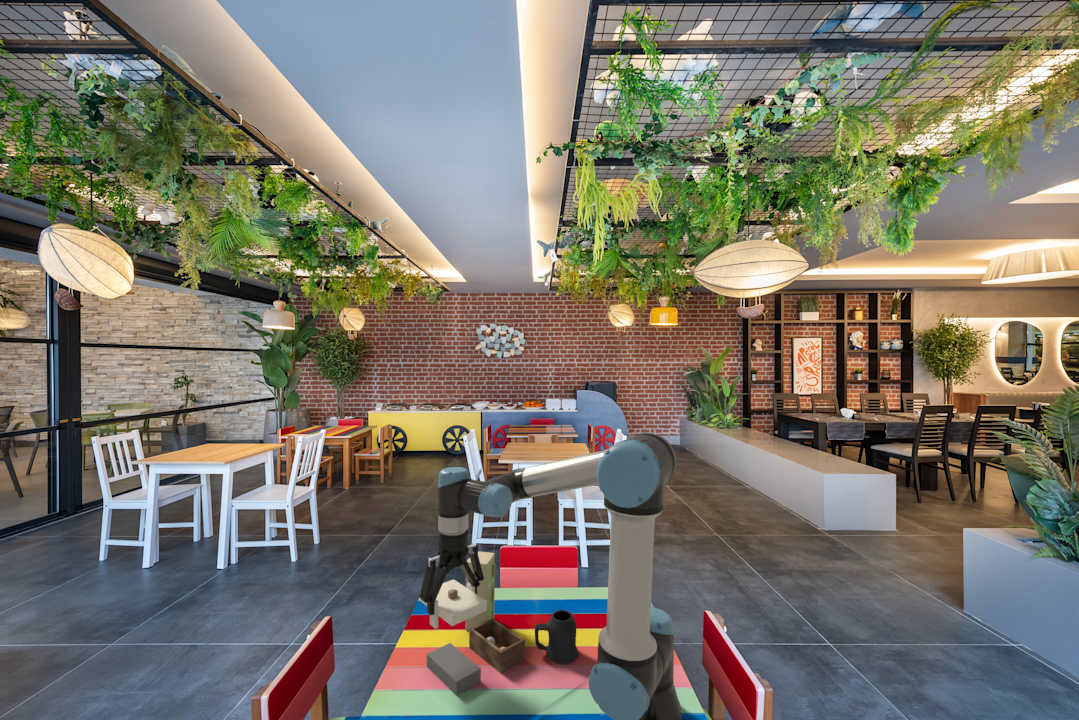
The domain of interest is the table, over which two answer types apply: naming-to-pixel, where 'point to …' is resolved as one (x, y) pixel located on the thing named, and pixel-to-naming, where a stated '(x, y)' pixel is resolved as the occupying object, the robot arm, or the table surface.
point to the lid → (458, 603)
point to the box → (497, 645)
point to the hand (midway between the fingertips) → (452, 617)
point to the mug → (559, 637)
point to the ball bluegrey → (491, 640)
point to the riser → (453, 668)
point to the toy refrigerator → (484, 589)
